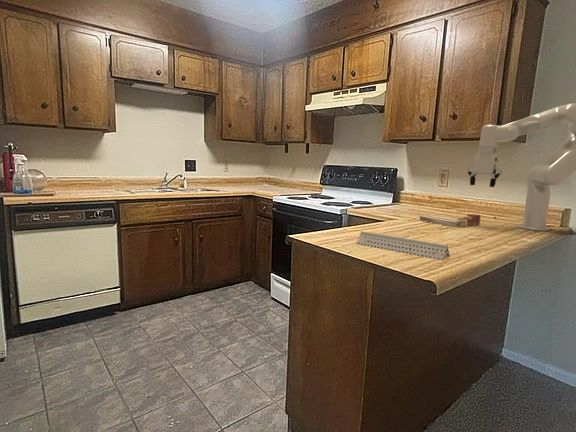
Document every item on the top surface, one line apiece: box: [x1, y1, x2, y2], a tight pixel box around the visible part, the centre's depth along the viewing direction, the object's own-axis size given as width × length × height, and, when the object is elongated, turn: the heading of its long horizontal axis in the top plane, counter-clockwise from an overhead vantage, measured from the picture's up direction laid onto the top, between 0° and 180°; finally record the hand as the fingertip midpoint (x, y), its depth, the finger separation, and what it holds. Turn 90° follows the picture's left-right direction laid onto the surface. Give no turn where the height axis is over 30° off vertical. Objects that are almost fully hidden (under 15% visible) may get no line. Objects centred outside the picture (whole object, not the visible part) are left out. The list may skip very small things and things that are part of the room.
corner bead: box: [355, 230, 451, 262], centre depth 124 cm, size 31×9×5 cm, turn 50°
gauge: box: [457, 213, 481, 227], centre depth 179 cm, size 15×4×6 cm, turn 122°
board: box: [419, 214, 467, 228], centre depth 186 cm, size 10×20×3 cm, turn 32°
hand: (481, 185), depth 176 cm, fingers open, 9 cm apart
